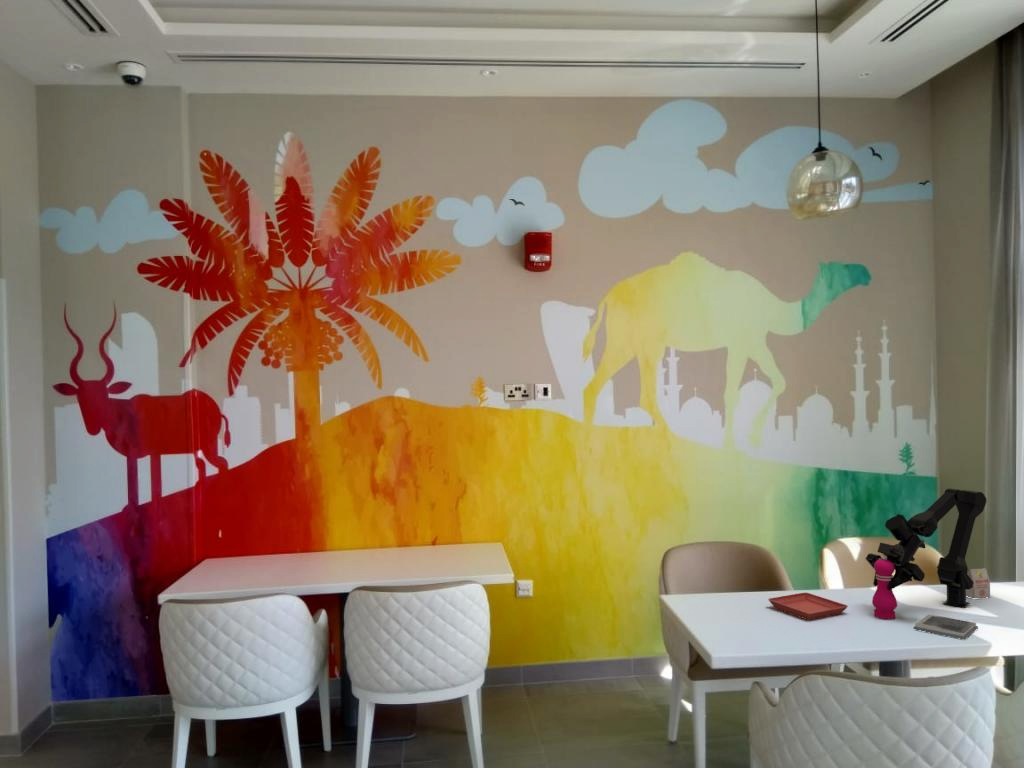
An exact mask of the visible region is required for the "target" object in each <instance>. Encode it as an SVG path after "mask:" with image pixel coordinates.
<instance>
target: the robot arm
mask: <svg viewBox="0 0 1024 768" xmlns="http://www.w3.org/2000/svg"><path fill="white" fill-rule="evenodd" d="M986 504H987V497H986V496H985V494H984V493H983V492H981V491H976V490H968V489H958V488H952V487H951V488H946V489H945V491H944V492H943V494H942V495H941V496H940V497H939V498H937V500H935V501H934V502H933V504H931V505H930V506H929V507H928V508H927V509H926V510H925V511H923V512H920V513H916V514H915V515H913V516H911V517H910V518H909V519H908V520H907V519H906V517H905V516H904V515H903V514H901V513H897V514H896V516H893V517H891V518H889V519H887V520H886V522H885V523H884V524H885V525H884V526H885V528H886V530H887V531H888V532H889V534H891V536H892V537H893V538H894V540H896V541H898V543H896V544H894V545H893V544H889V543H886V542H885V543H884V542H880V543H879V544H878V548H877V553H881V555H880V554H876V553H872V552H871V553H870V552H869V553H867V555H866V557H865V560H866V562H868V564H869V565H870V566H871V567H872V569H874V564H875V562H876V561H877V560H879V559H882V558H881V556H882V555H886V556H887V560H889V561H891V562H892V563H893V564H894V567H895V570H894V573H893V578H892V579H891V581H890V583H889V585H888V587H887V589H888V590H891V589H892V590H893V589H895V588H897V587H899V586H901V585H903V584H905V583H908V582H913V581H917V582H920V583H921V582H923V580H924V579H925V572H924V571H923V570H922V569H921V567H920V566H919V565H918V564H917V563H913V562H914V561H915V560H916V559H915V557H914V556H915V555H916V553H917V551H918V550H919V548H920V549H926V544H925V539H921V537H925V538H930V537H932V535H933V534H934V533H935V532H936V531H937V529H938V524H939V522H940V521H941V520H942V519H943V518H944V517H945V516H946V515H947V514H948V513H949V512H950V511H951V510H952V509H953V508H954V507H955V506H956V509H957V512H958V516H957V520H956V523H955V528H954V530H953V531H954V532H953V535H952V538H951V542H950V547H949V550H948V553H947V554H946V555H945V556H944V557H942V556H940V557H939V559H938V564H937V567H936V569H937V572H936V573H937V576H938V580H939V584H940V585H945V586H946V600H945V601H943V605H945V606H946V605H947V606H952V607H958V608H964V609H965V608H966V607H968V606H967V605H968V604H969V605H970V602H969V601H967V597H966V589H967V590H969V589H971V588H972V587H973V583H974V582H973V581H972V580H971V578H970V577H969V576H968V575H967V573H968V570H969V567H968V565H967V562H966V556H967V551H968V547H969V545H970V540H971V537H972V534H973V533H972V532H973V528H974V525H975V521H976V519H977V517H979V516H980V515H981V514H982V513H983V512H984V509H985V507H986ZM874 571H875V570H874ZM876 574H877V572H876V571H875V572H874V579H873V586H874V587H877V585H878V582H877V579H876Z"/></svg>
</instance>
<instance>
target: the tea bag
mask: <svg viewBox="0 0 1024 768" xmlns="http://www.w3.org/2000/svg"><path fill="white" fill-rule="evenodd" d="M967 575H968V576H969V577H970V578H971V580H972V581H973V582H974V583H973V587H972V588H971V589H969V590H967V589H966V596H968V597H971V598H986V597H988V598H989V597H990V598H991V580H990V578H989V574H988V572H987V568H984V567H983V568H971V569H969V568H968V571H967Z"/></svg>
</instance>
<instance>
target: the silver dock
mask: <svg viewBox="0 0 1024 768" xmlns="http://www.w3.org/2000/svg"><path fill="white" fill-rule="evenodd" d="M977 628H978V629H979V626H978V625H977V623H976V622H973V621H968V620H961V619H957V618H951V617H945V616H941V615H935V614H927V615H925V616H924V617H923V618H922V619H920V620H918V621H917V622H916V623H915V625H914V626H913V628H912V629H917V630H921V631H920V632H922V631H926V632H925V633H927V632H930V633H929V634H932V633H934V634H933V635H937V634H938V636H942V635H945V636H944V637H947V636H950V637H949V638H952V637H954V639H957V638H960V639H959V640H962V639H966V638H967V637H968V636H969V637H970V636H971V635H972V633H973V632H974V631H975V630H976V629H977ZM978 629H977V630H978ZM917 630H916V631H917ZM977 630H976V631H977ZM976 631H975V632H976ZM975 632H974V633H975ZM974 633H973V634H974ZM969 637H968V638H969ZM968 638H967V639H968ZM967 639H966V640H967Z"/></svg>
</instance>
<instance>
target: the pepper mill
mask: <svg viewBox="0 0 1024 768" xmlns="http://www.w3.org/2000/svg"><path fill="white" fill-rule="evenodd" d="M880 556H881V558H882V559H879V560H877V561H876V562H875V564H874V568H873V569H874V571H876V572H877V574H876V579H877V582H878V585H877V586H876V590H875V592H874V593H873V596H872V603H871V605H872V606H873V607H874V609H873V616H874V617H875V618H877V617H878V618H877V619H880V618H881V619H882V620H895V619H896V611H895V610H896V608H897V607H898V601H897V598H896V596H895V594H894V591H893V589H891V590H888V589H887V587H888V585H889V583H890V581H891V579H892V578H893V576H894V573H895V567H894V564H893V563H892V562H891V561H889V560H887V556H886V555H884V554H881V555H880Z"/></svg>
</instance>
